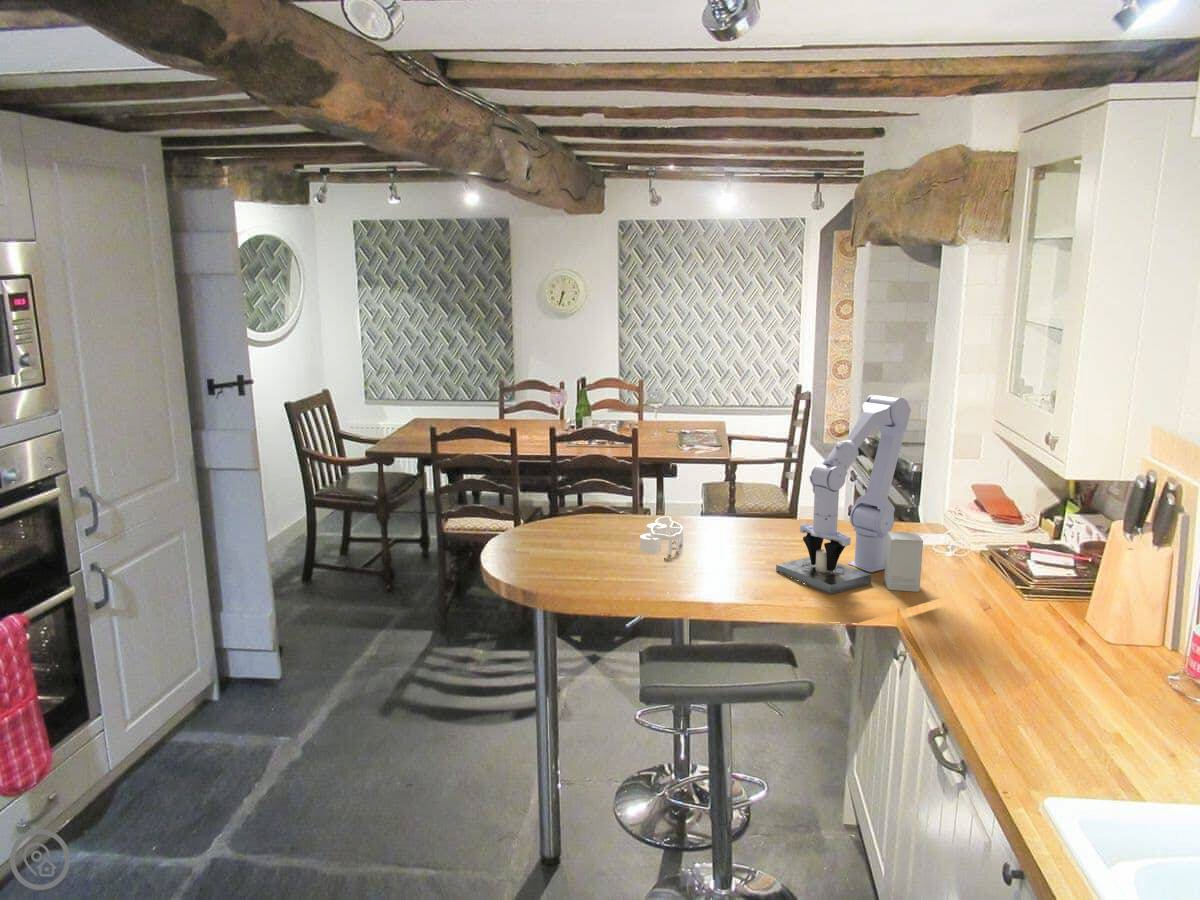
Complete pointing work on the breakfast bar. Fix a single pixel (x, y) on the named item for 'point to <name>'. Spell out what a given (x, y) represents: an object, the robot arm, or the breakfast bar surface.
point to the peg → (821, 561)
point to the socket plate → (825, 576)
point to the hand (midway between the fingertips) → (823, 567)
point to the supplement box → (903, 561)
